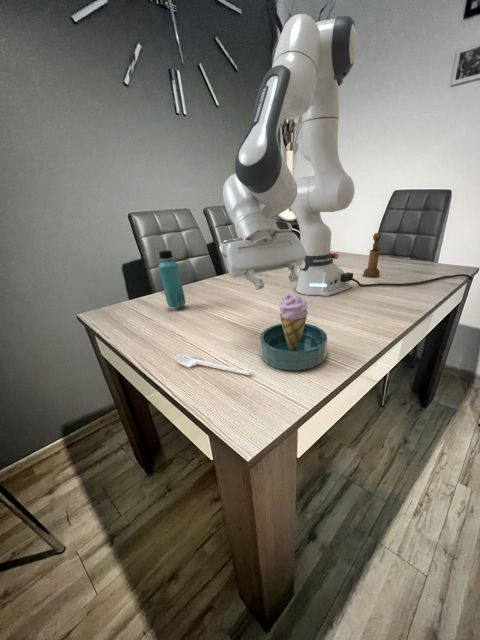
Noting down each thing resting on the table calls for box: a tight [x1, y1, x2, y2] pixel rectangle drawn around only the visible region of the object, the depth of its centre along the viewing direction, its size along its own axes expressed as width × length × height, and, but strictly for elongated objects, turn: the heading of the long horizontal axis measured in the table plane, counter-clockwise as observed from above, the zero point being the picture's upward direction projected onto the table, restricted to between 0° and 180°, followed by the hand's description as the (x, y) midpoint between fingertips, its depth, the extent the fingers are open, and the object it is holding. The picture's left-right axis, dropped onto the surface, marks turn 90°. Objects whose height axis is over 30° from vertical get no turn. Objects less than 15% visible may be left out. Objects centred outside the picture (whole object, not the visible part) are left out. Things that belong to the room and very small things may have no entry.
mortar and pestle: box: [363, 232, 382, 279], centre depth 119 cm, size 7×6×18 cm
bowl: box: [259, 323, 328, 371], centre depth 65 cm, size 16×16×5 cm
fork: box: [172, 351, 251, 376], centre depth 63 cm, size 3×20×2 cm, turn 66°
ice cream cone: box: [279, 293, 309, 351], centre depth 63 cm, size 7×6×15 cm
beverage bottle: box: [158, 249, 186, 308], centre depth 94 cm, size 6×7×20 cm
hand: (278, 284), depth 64 cm, fingers open, 8 cm apart
